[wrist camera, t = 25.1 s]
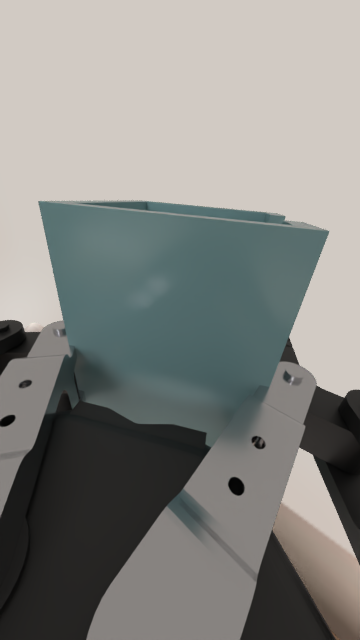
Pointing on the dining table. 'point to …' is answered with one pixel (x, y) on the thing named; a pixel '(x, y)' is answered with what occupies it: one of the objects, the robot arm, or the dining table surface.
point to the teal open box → (177, 303)
